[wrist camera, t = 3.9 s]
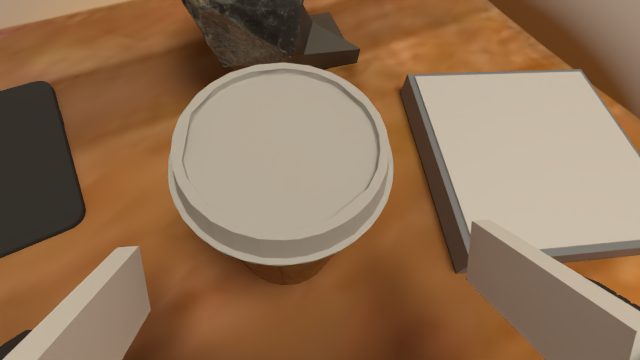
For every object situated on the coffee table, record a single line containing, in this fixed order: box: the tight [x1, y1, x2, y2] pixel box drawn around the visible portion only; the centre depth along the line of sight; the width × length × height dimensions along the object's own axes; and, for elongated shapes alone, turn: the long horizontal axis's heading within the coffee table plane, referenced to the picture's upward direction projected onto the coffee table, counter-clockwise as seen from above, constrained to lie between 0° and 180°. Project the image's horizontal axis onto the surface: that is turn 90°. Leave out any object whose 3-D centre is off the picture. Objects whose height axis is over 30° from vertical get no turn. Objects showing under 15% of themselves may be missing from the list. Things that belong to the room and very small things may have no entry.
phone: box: [0, 81, 86, 258], centre depth 25 cm, size 7×1×15 cm
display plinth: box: [400, 69, 640, 274], centre depth 27 cm, size 17×17×2 cm
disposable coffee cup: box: [168, 63, 393, 285], centre depth 18 cm, size 10×10×12 cm
